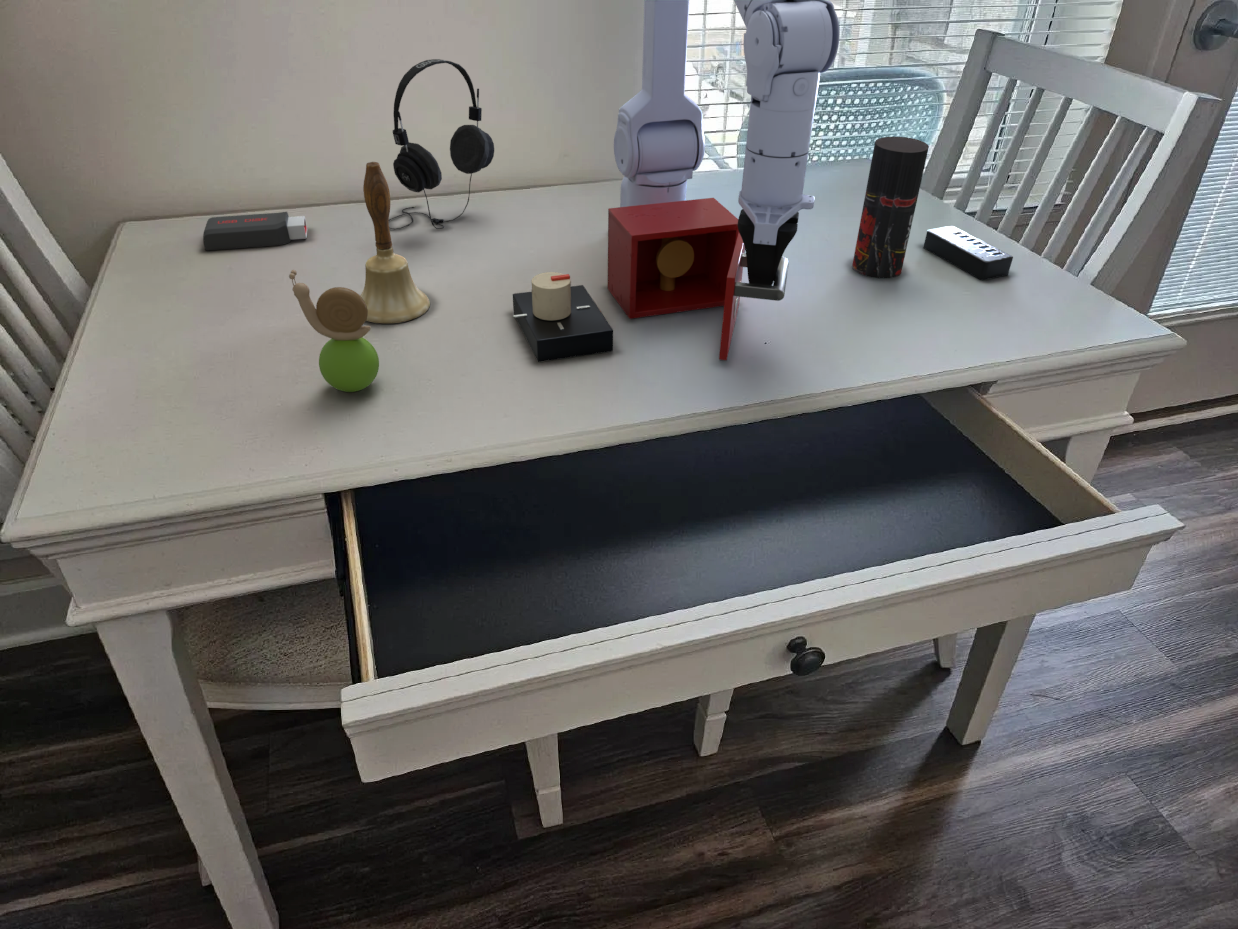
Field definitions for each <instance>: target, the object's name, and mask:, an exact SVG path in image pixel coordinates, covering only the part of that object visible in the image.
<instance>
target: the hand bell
mask: <svg viewBox="0 0 1238 929" xmlns="http://www.w3.org/2000/svg"><path fill="white" fill-rule="evenodd" d="M364 173H365V174H364V180H363V184H362V185H363V188H362V190H363V197H364V202H365V206H366V209H367V212H368V215H369V216H370V219H371V221H372V224H373V229H374V240H375V248H376V254H375V255H373V256H371V257H369V258H368V259H367V260H366V262H365V265H364V266H365V268H364V269H365V278H364V279H365V280H364V286H363V290H362V292H361V294H359V295H360V296H361V297H362V298H363V300H364V301H365V303H366V305H367V309H368V316H367V320H366V321H365V322H368V323H369V322H370V323H374V324H382V325H383V324H387V325H388V324H390V325H391V324H400V323H401V324H402V323H405V322H409V321H413V320H415V319H417V318H419V317H421V316H423V315H425V313H427V311H429V309H430V306H431V301H430V299H429V297H428V296H427V295H426V293H424V292H423V291H422V290H420V289H419V287H418V286H417V284H416V283H415V281H414V280H413V277H412V274H411V271H410V268H409V262H408V260H407V259H406V258H405V257H404V256H402V255H400V254H397V253H395V252H394V248H393V241H392V236H391V230H390V221H389V219H390V213H391V193H390V188H389V184H388V181H387V178H386V177H385V175H384V172H383V171H382V167H381V166H380V163H379V162H377V161H369V162H366V164H365V172H364Z"/></svg>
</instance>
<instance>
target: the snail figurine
mask: <svg viewBox="0 0 1238 929" xmlns="http://www.w3.org/2000/svg"><path fill="white" fill-rule="evenodd" d="M297 273H298V272H297V271H296V270H295V269H291V270H290V273H289V274H288V278H289V280H291V283H292V286H293V287H292V292H293V296H294V297H295V298H296V299H297V301H298V305H299V307H300V309H301V311H302V313H303V315H304V317H305V319H306V321H307V323H308V324H309V325H310V326H311V328H312V329H313V330H314V331H315V332H317V334H319V335H321V336H324V337H326V338H329V340H328V341H327V342H326V343H325V344H323V347H322V348H321V349H320V353H319V357H318V367H319V371H320V374H321V376H322V378H323V379H324V380H325V382H326V383H327V384H328V385H329V386H330V387H332V388H334V389H335V390H338V391H341V392H344V393H345V392H347V393H354V392H359V391H361V390H364V389H366V388H367V387H369V386H370V385H371V384H373V382H374V381H375V379H376V377H377V375H378V374H379V370H380V359H379V354H378V352H377V350H376V348H375V346H373V345H374V344H372V343H371V342H370V341H369V340H368V339H366V338H364V337H365V336H366V335H367V334H368V333H369V332H370V331H371V329H372V327H371V325H364V324H365V323H366V322H367V321H366V320H367V316H368V309H367V305H366V303H365V301H364V300H363V298H362V297H361V296H360V295H361V294H359V293H358V292H357V291H355V290H352V289H351V288H348V287H344V286H343V287H342V286H336V287H331V288H329V289H326V290H324V292H322V293H321V294H320V296H319V297H318V299H317V301H316V306H315V304H314V302H313V301H312V299H311V296H310V294H311V293H310V292H311V291H310V288H309V286H308V285H307V284H306V283H303V282H296V275H298V274H297ZM294 283H295V284H294Z"/></svg>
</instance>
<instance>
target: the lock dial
mask: <svg viewBox="0 0 1238 929" xmlns="http://www.w3.org/2000/svg"><path fill="white" fill-rule="evenodd" d="M571 282H572V280H571V275H570V274H569V273H566V274H565V273H561V272H557V271H549V272H548V271H547V272H540V273H537V274H536V275H534V276H533V277H532V278H531V291H532V305H533V314H534V315H535V316H536V317H537V318H539V319H543V320H551V321H553V320H560V319H564V318H566V317H568V316H569V315H570V313H571V286H572V285H571Z"/></svg>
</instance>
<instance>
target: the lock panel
mask: <svg viewBox="0 0 1238 929" xmlns="http://www.w3.org/2000/svg"><path fill="white" fill-rule="evenodd" d="M512 310H513V316H512V317H513V319H515V320H516V322H517V324H518V326H519V328H520V330H521V332H522V334H523V335H524V338H525V340H526V342H527V343H528V345H529V348H530V350H531V352H532V354H533V355H534V357H535V359H536V362H537V363H543V362H550V361H556V360H563V359H569V358H577V357H583V356H590V355H596V354H602V353H603V354H604V353H610V352H613V351H614V328H613V327H612V326H611V325H610V323H609V321H608V320H607V318H606V317H605V315H604V314H603V312H602V311H601V310H600V308H599V306H598V305H597V304H596V302H595V301H594V299H593V298H592V295H590V293H589V291H588V290H587V289H586V287H585V286H584V285H583V284H580V285H579V284H578V285H571V313H570V315H569V316H568V317H566V318H564V319H560V320H553V321H551V320H543V319H539V318H537V317H536V316H535V315H534V314H533V305H532V290H531V291H524V292H517V293H516V292H515V293H512Z"/></svg>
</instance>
